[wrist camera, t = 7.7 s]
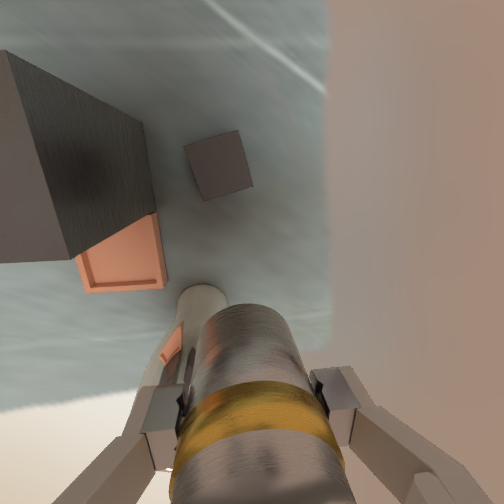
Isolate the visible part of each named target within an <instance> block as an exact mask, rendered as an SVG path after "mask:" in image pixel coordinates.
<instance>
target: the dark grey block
mask: <svg viewBox="0 0 504 504" xmlns="http://www.w3.org/2000/svg"><path fill="white" fill-rule="evenodd" d="M155 210H156V206H155V199H154V193H153V187H152V181H151V175H150V168H149V162H148V156H147V150H146V144H145V138H144V131H143V125H142V122H140V121H138V120H136V119H134V118H132V117H131V116H129V115H127V114H125V113H123V112H121V111H119V110H117V109H115V108H114V107H112V106H110V105H108V104H106V103H104V102H102V101H100V100H99V99H97V98H95V97H93V96H91V95H89V94H87V93H85V92H83V91H82V90H80V89H78V88H76V87H74V86H72V85H70V84H68V83H67V82H65V81H63V80H61V79H59V78H57V77H55V76H53V75H51V74H50V73H48V72H46V71H44V70H42V69H40V68H38V67H36V66H35V65H33V64H31V63H29V62H27V61H25V60H23V59H21V58H19V57H18V56H16V55H14V54H12V53H10V52H8V51H6V50H0V263H18V262H37V261H56V260H71V259H72V258H74V257H76V256H78V255H79V254H81V253H83V252H85V251H86V250H88V249H90V248H91V247H93V246H95V245H97V244H98V243H100V242H102V241H103V240H105V239H107V238H109V237H110V236H112V235H114V234H116V233H117V232H119V231H121V230H122V229H124V228H126V227H128V226H129V225H131V224H133V223H134V222H136V221H138V220H140V219H141V218H143V217H145V216H146V215H148V214H150V213H152V212H153V211H155Z"/></svg>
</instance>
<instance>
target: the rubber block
mask: <svg viewBox="0 0 504 504" xmlns="http://www.w3.org/2000/svg"><path fill="white" fill-rule="evenodd" d="M184 149H185V151H186V154H187V157H188V160H189V163H190V165H191V168H192V171H193V174H194V176H195V179H196V182H197V185H198V188H199V190H200V193H201V196H202V199H203V201H207V200H211V199H214V198H217V197H220V196H224V195H227V194H230V193H233V192H237V191H240V190H243V189H246V188H250V187H253V182H252V178H251V175H250V171H249V167H248V164H247V160H246V157H245V153H244V149H243V146H242V142H241V138H240V135H239V131H238V130H235V131H232V132H229V133H225V134H222V135H219V136H216V137H213V138H209V139H206V140H203V141H200V142H196V143H193V144H190V145H187V146H184Z"/></svg>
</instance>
